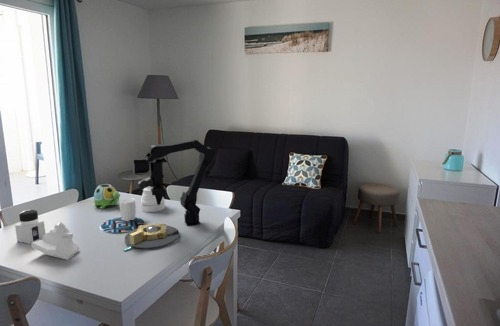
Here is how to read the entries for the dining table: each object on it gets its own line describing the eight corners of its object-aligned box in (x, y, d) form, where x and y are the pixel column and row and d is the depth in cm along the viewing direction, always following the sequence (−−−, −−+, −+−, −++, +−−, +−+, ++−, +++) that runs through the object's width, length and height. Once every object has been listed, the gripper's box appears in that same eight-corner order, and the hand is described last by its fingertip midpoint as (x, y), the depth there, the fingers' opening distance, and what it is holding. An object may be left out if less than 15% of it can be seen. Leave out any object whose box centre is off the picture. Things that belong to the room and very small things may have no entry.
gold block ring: (152, 225, 156) (151, 217, 155) (176, 231, 149) (176, 223, 148) (119, 240, 139) (118, 231, 138) (145, 247, 132) (145, 238, 131)
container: (46, 237, 146) (42, 209, 144) (29, 244, 139) (25, 215, 137) (33, 234, 149) (30, 207, 146) (16, 241, 142) (12, 213, 139)
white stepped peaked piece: (61, 248, 139) (67, 215, 139) (82, 260, 132) (89, 225, 132) (29, 253, 128) (37, 217, 128) (51, 266, 121) (59, 228, 121)
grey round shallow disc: (175, 225, 160) (174, 215, 160) (182, 244, 139) (182, 233, 138) (124, 231, 153) (123, 221, 152) (123, 253, 131) (122, 241, 130)
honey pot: (161, 212, 179) (159, 180, 176) (137, 211, 179) (135, 180, 176) (167, 204, 192) (165, 174, 188) (145, 204, 192) (143, 174, 189)
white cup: (131, 222, 164) (130, 203, 162) (117, 221, 165) (115, 202, 163) (139, 217, 171) (138, 198, 170) (126, 216, 173) (124, 197, 171)
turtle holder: (109, 211, 179) (107, 190, 177) (89, 206, 188) (87, 186, 186) (128, 205, 190) (127, 185, 187) (108, 200, 199) (107, 181, 197)
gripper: (137, 169, 157) (139, 200, 160) (139, 178, 140) (141, 212, 143) (161, 167, 161) (163, 198, 164) (165, 176, 144) (167, 210, 147)
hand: (158, 204), depth 154 cm, fingers closed
